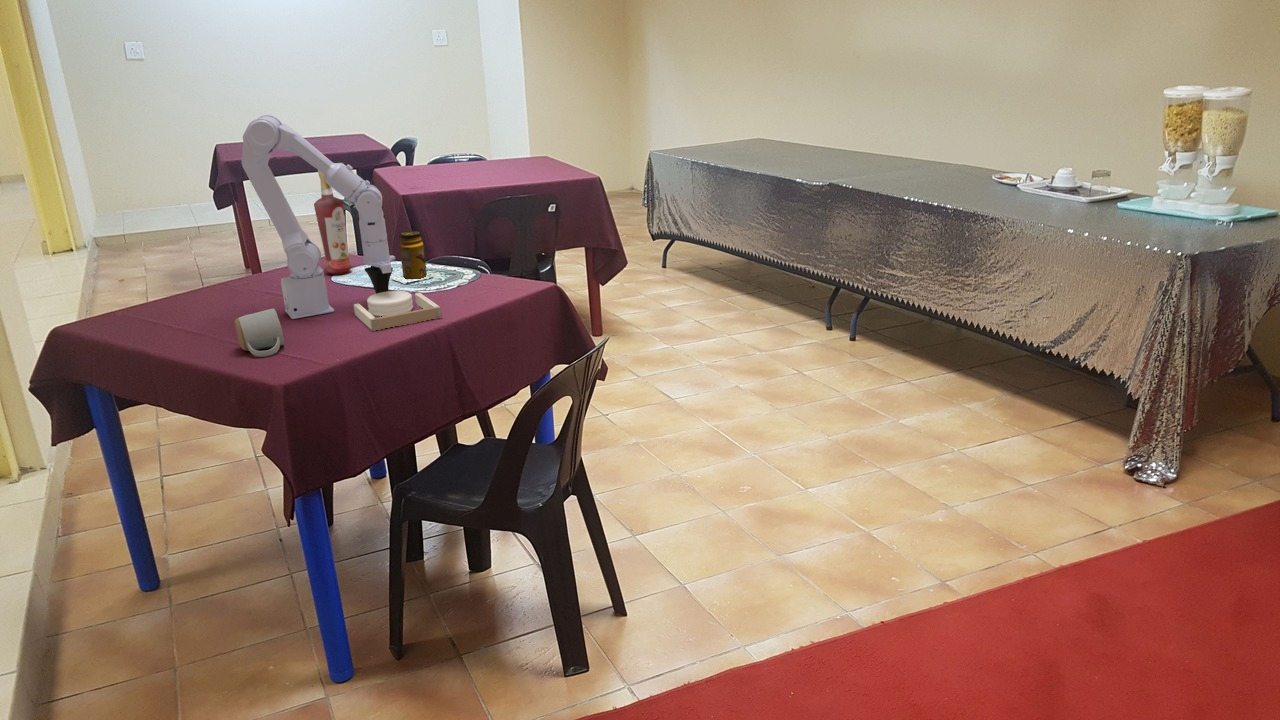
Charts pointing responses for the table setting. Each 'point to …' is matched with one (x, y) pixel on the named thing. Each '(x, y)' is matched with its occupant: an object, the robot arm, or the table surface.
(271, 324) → the ceramic mug
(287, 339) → the table surface
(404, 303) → the coaster
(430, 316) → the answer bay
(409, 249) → the condiment
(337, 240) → the liquor
